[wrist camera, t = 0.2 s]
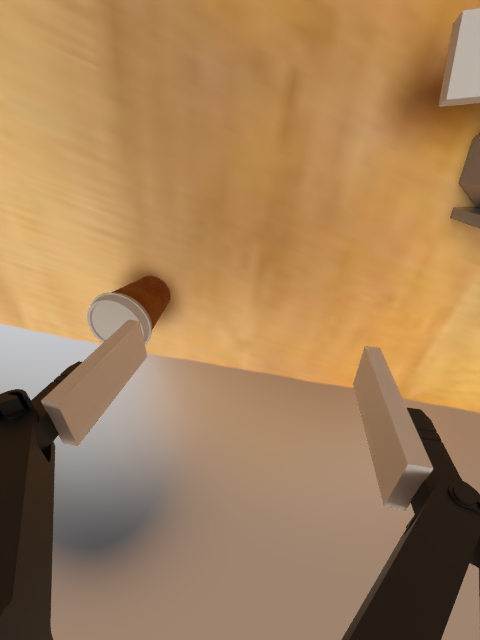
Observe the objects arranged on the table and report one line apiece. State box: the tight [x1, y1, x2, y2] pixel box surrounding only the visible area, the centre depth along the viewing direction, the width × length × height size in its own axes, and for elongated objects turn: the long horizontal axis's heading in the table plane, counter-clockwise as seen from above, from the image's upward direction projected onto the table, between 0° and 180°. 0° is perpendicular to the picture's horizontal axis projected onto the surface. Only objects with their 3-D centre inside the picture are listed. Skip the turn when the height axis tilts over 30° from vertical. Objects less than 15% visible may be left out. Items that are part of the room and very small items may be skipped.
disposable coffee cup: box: [88, 276, 170, 344], centre depth 43 cm, size 10×10×12 cm
